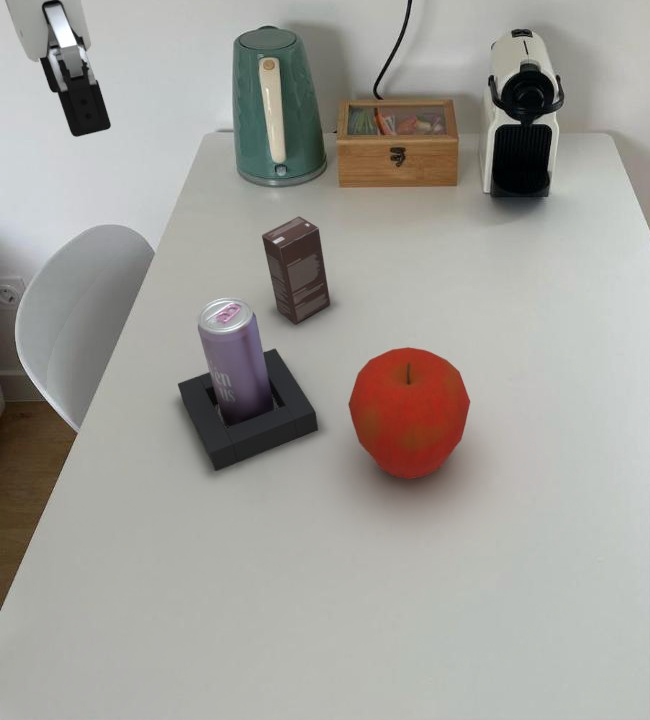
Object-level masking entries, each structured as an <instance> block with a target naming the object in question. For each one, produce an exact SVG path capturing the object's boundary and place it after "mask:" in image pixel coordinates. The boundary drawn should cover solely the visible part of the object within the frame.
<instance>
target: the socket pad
mask: <svg viewBox="0 0 650 720" xmlns="http://www.w3.org/2000/svg"><path fill="white" fill-rule="evenodd" d="M263 354H264V359H265V364H266V369H267V374H268V378H269V383H270V388H271V393H272V398H273V400H275V402H276V403H277V405H278V408H276V409H275V408H274V410H273V411H270V412H267V413H265V414H262V415H260V416H257V417H255V418H252V419H249V420H247V421H244V422H242V423H239V424H237V425H234V426H231V427H227V428H226V427H225V426H224V423H223V421H222V420H221V417H220V415H219V413H218V412H217V410H216V407H215V406H217V405H218V402H217V398H216V394H215V390H214V387H213V383H212V379H211V376H210V372H209V371H208V372H206V373H203V374H200V375H197V376H195V377H191V378H189V379H186V380H184V381H181V382H178V383H177V387H178V389H179V393H180V397H181V400H182V402H183V404H184V407H185V409H186V411H187V412H188V415H189V417H190V420H191V421H192V424H193V426H194V428H195V430H196V432H197V434H198V437H199V439H200V441H201V443H202V445H203V447H204V449H205V452H206V453H207V456H208V458H209V460H210V462H211V464H212V466H213V469H214V471H215V472H216V471H219V470H221V469H224V468H226V467H228V466H231V465H234V464H236V463H239V462H241V461H244V460H247V459H249V458H252V457H254V456H256V455H259V454H261V453H264V452H266V451H269V450H271V449H274V448H277V447H278V446H281V445H283V444H286V443H288V442H291V441H293V440H296V439H298V438H301V437H303V436H307V435H308V434H311V433H313V432H316V431H318V430H319V427H318V426H319V425H318V420H317V413H316V410H315V409H314V407H313V405H312V404H311V402H310V401H309V399H308V398H307V395H306V394H305V393H304V391H303V390H302V388H301V386H300V384H299V383H298V382H297V380H296V378H295V377H294V375H293V373H292V372H291V370H290V369H289V368H288V366H287V365H286V363H285V361H284V360H283V358H282V357H281V355H280V354H279V352H278V350H277V348H272V349H269V350H266V351H263Z"/></svg>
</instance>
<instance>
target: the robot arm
mask: <svg viewBox="0 0 650 720" xmlns="http://www.w3.org/2000/svg"><path fill="white" fill-rule="evenodd" d="M4 1H5V4H6V7H7V10H8V12H9V16H10V18H11V21H12V25H13V27H14V30H15V33H16V35H17V38H18V40H19V42H20V44H21V47H22V49H23V51H24V53H25V55H26V56H27V58H28V59H29V60H30V61H32V62H34V63H39V62H40V64H41V67H42V71H43V73H44V75H45V79H46V82H47V85H48V88H49V89H50V91H51V92H52V93H53V94H57V95H58V99H59V102H60V105H61V108H62V111H63V113H64V117H65V119H66V123H67V125H68V129H69V131H70V134H71V135H72V136H73V137H75V138H77V137H82V136H86V135H87V136H88V135H91V134H95V133H99V132H102V131H107V130H110V128H111V126H112V123H111V120H110V117H109V113H108V110H107V107H106V103H105V100H104V97H103V94H102V90H101V87H100V83H99V81H98V79H96V77H95V74H94V71H93V68H92V66H91V62H90V61H89V58H88V55H87V53H86V52H88V50H89V49H90V48H91V46H92V42H91V41H92V40H91V37H90V33H89V29H88V25H87V19H86V16H85V12H84V8H83V4H82V1H81V0H4Z"/></svg>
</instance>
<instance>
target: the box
mask: <svg viewBox="0 0 650 720" xmlns="http://www.w3.org/2000/svg"><path fill="white" fill-rule="evenodd" d="M261 239H262V243H263V247H264V252H265V257H266V261H267V265H268V269H269V270H268V271H269V275H270V280H271V285H272V289H273V295H274V298H275V304H276V309H277V311H278V312H279V313H280V314H282V315H283V316H284V317H286V318H287V319H288V320H290V321H291V322H292V323H294V324H298V323H300V322H301V321H303V320H305V319H307V318H308V317H310V316H312V315H313V314H315V313H317V312H319V311H321V310H322V309H324V308H326V307H328V306H329V305H331V298H330V293H329V292H330V291H329V287H328V286H329V285H328V280H327V274H326V273H327V272H326V266H325V261H324V255H323V248H322V247H323V246H322V242H321V241H322V240H321V234H320V228H319V226H317V225H315V224H313V223H311V222H309V221H308V220H307V219H305V218H303V217H302V216H297V217H294V218H293V219H291V220H289V221H287V222H285V223H283V224H280V225H279V226H277V227H275V228H273V229H271V230H268V231H267V232H265V233H263V234H261Z"/></svg>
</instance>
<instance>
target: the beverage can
mask: <svg viewBox="0 0 650 720" xmlns="http://www.w3.org/2000/svg"><path fill="white" fill-rule="evenodd" d="M197 330H198V335H199V338H200V342H201V346H202V350H203V353H204V357H205V360H206V365H207V369H208V372H210V376H211V379H212V383H213V387H214V390H215V394H216V398H217V402H218V404H217V405H218V409H219V412H220V416H221V419H222V420H221V421H222V423H223V424H224V425H226V426H227V428H229V427H231V426H234V425H237V424H239V423H242V422H244V421H247V420H249V419H252V418H255V417H257V416H260V415H262V414H265V413H267V412H270V411H273V410H275V404H274V397H273V395H272V393H271V388H270V383H269V378H268V374H267V369H266V364H265V359H264V354H263V352H264V349H263V344H262V341H261V340H262V339H261V336H260V335H261V334H260V329H259V326H258V321H257V316H256V314H255V312H254V310H253V307H252V305H251V304H250V303H249V302H248V301H246V300H245V299H242V298H239V297H221V298H218V299H215V300H212V301H210V302H208V303H207V304H205V305H204V306H203V307H202V308H201V309H200V311H199V312H198V315H197Z"/></svg>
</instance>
